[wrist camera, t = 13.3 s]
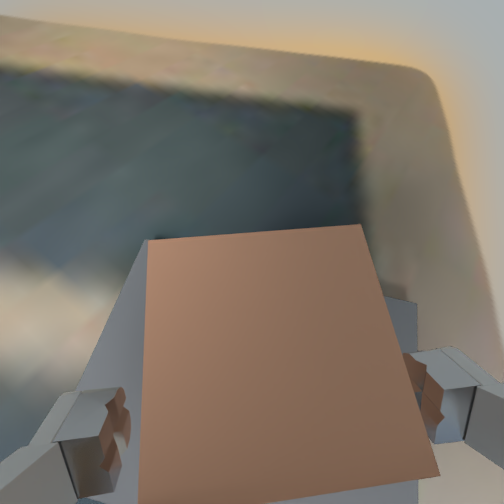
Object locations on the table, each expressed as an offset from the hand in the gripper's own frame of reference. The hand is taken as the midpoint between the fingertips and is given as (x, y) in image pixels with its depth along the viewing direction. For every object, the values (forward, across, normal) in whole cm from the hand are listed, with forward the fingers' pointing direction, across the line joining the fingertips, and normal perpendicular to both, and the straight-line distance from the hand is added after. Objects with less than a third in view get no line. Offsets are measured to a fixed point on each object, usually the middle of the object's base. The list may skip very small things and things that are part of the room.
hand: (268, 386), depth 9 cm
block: (+5, 0, +4) cm, 6 cm away
